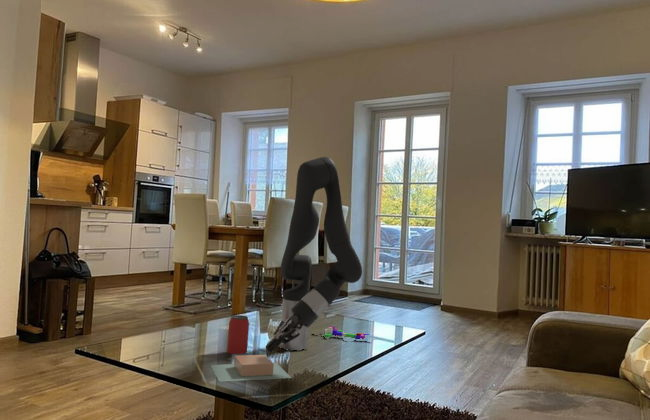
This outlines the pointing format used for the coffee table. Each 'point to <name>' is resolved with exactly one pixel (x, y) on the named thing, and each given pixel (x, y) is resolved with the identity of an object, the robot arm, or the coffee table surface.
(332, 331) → the building block set
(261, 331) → the coffee table surface
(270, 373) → the tile
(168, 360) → the coffee table surface
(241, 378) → the felt mat
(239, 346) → the beer can
